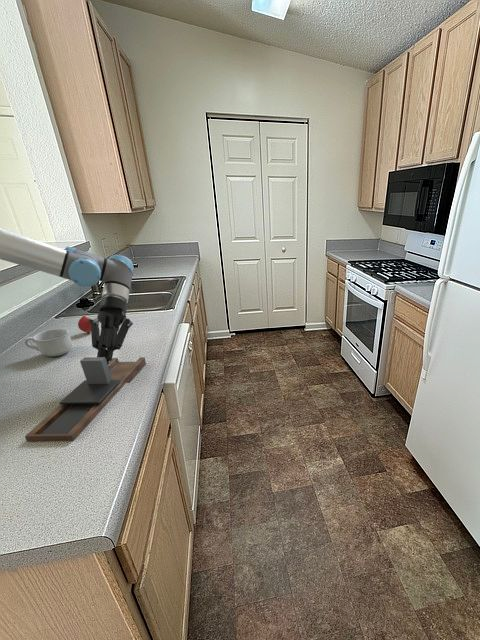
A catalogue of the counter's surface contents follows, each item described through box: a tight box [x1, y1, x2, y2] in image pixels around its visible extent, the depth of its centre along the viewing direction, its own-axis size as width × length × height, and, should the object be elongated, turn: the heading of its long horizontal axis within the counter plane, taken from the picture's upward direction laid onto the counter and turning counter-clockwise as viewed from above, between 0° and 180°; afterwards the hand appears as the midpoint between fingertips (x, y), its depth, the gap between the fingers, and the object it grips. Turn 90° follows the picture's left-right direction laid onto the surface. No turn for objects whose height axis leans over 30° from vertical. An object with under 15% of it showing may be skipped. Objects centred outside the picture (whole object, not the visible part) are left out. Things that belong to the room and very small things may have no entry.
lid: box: [58, 356, 120, 405], centre depth 92 cm, size 12×11×8 cm
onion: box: [77, 314, 91, 334], centre depth 142 cm, size 6×6×8 cm
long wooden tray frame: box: [24, 356, 147, 443], centre depth 97 cm, size 42×11×3 cm, turn 1°
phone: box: [41, 408, 91, 434], centre depth 84 cm, size 11×6×1 cm, turn 1°
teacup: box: [24, 328, 73, 358], centre depth 123 cm, size 14×11×8 cm
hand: (102, 370), depth 99 cm, fingers closed
